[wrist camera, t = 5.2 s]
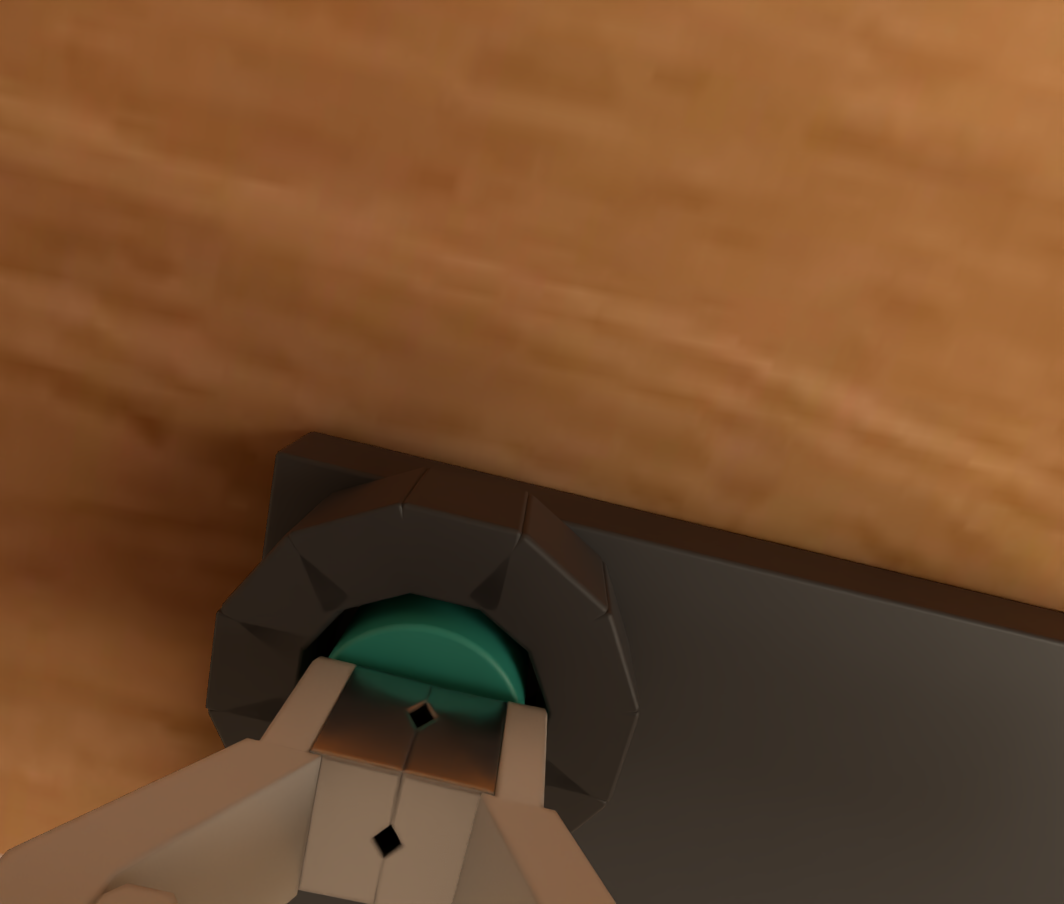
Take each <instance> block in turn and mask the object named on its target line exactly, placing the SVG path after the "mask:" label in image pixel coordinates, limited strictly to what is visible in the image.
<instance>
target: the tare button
mask: <svg viewBox="0 0 1064 904" xmlns="http://www.w3.org/2000/svg"><path fill="white" fill-rule="evenodd" d="M328 658H332V659H336V660H340V661H344V662H348V663H352V664H355V665H356V666H358V665H361V666H364V667H368V668H372V669H376V670H380V671H384V672H387V673H391V674H395V675H399V676H403V677H406V678H410V679H414V680H418V681H422V682H426V683H429V684H433V685H434V686H439V687H443V688H447V689H452V690H456V691H460V692H465V693H469V694H473V695H478V696H482V697H486V698H491V699H495V700H499V701H504V702H508V701H510V702H515V703H520V704H525V698H526V688H527V677H528V664H529V656H528V651H526V650H525V649H524V648H523V647H522V646H521V645H519V644H518V643H517V642H516V641H515V640H514V639H513V638H511V637H510V636H509V635H508V634H507V633H506V632H504V631H503V630H502V629H501V628H500V627H499V626H497V625H496V624H495V623H494V622H493V621H492V620H491V619H489V618H488V617H487V616H486V615H485V614H484V613H482V612H481V611H480V610H478V609H474V608H470V607H466V606H462V605H457V604H453V603H449V602H445V601H441V600H437V599H432V598H428V597H424V596H420V595H416V594H411V593H408V594H404V595H400V596H396V597H392V598H388V599H384V600H380V601H377V602H373V603H369V604H365V605H361V606H360V607H359V609H358V610H357V612H356V613H355V615H354V617H353V618H352V620H351V622H350V623H349V625H348V626H347V628H346V630H345V631H344V633H343V634H342V636H341V638H340V639H339V641H338V642H337V644H336V646H335V647H334V649H333V650H332V652H331V654H330V655H329V657H328Z"/></svg>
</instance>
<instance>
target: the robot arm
mask: <svg viewBox="0 0 1064 904" xmlns="http://www.w3.org/2000/svg"><path fill="white" fill-rule="evenodd" d="M546 737H547V712H546V710H545V709H544V708H539V707H534V706H530V705H525V704H520V703H515V702H510V701H508V702H504V701H499V700H495V699H491V698H486V697H482V696H478V695H473V694H469V693H465V692H460V691H456V690H452V689H447V688H443V687H439V686H434V685H433V684H429V683H426V682H422V681H418V680H414V679H410V678H406V677H403V676H399V675H395V674H391V673H387V672H384V671H380V670H376V669H372V668H368V667H364V666H361V665H358V666H356V665H355V664H352V663H348V662H344V661H340V660H336V659H332V658H327V657H323V656H320V657H318V658H317V659H315V660H313V661H312V663H311V664H310V666H309V667H308V669H307V670H306V672H305V673H304V675H303V676H302V678H301V679H300V681H299V682H298V684H297V685H296V687H295V688H294V690H293V691H292V693H291V694H290V696H289V697H288V699H287V700H286V702H285V703H284V705H283V706H282V708H281V709H280V711H279V712H278V714H277V715H276V717H275V718H274V720H273V721H272V723H271V724H270V726H269V727H268V729H267V730H266V732H265V733H264V735H263V736H262V738H261V739H260V740H259V741H258V740H254V739H249V738H246V739H244V740H242V741H240V742H237V743H235V744H233V745H231V746H229V747H227V748H225V749H222V750H220V751H218V752H216V753H214V754H212V755H210V756H208V757H205V758H203V759H201V760H199V761H197V762H195V763H193V764H190V765H188V766H186V767H184V768H182V769H180V770H178V771H175V772H173V773H171V774H169V775H167V776H165V777H163V778H161V779H158V780H156V781H154V782H152V783H150V784H148V785H146V786H143V787H141V788H139V789H137V790H135V791H133V792H131V793H129V794H126V795H124V796H122V797H120V798H118V799H116V800H114V801H111V802H109V803H107V804H105V805H103V806H101V807H99V808H97V809H94V810H92V811H90V812H88V813H86V814H84V815H82V816H79V817H77V818H75V819H73V820H71V821H69V822H67V823H64V824H62V825H60V826H58V827H56V828H54V829H52V830H50V831H47V832H45V833H43V834H41V835H39V836H37V837H35V838H32V839H30V840H28V841H26V842H24V843H22V844H20V845H18V846H15V847H13V848H11V849H9V850H8V851H7V852H6V853H5V854H4V855H3V856H2V857H1V858H0V904H287V903H288V902H289V901H291V900H292V899H293V898H294V897H295V896H296V895H297V892H298V890H302V891H307V892H312V893H317V894H322V895H327V896H332V897H337V898H342V899H347V900H352V901H357V902H362V903H367V904H616V902H615V901H614V899H613V898H612V896H611V895H610V893H609V892H608V890H607V889H606V887H605V886H604V884H603V882H602V881H601V879H600V878H599V876H598V875H597V873H596V872H595V870H594V869H593V867H592V866H591V864H590V863H589V861H588V859H587V858H586V856H585V855H584V853H583V852H582V850H581V849H580V847H579V846H578V844H577V843H576V841H575V840H574V838H573V836H572V835H571V833H570V832H569V830H568V829H567V827H566V826H565V824H564V823H563V821H562V820H561V818H560V817H559V815H558V813H557V812H556V811H555V810H551V809H547V808H544V787H545V762H546ZM374 901H375V902H374Z"/></svg>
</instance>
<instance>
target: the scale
mask: <svg viewBox="0 0 1064 904" xmlns="http://www.w3.org/2000/svg"><path fill="white" fill-rule="evenodd" d="M408 593H411V594H416V595H420V596H424V597H428V598H432V599H437V600H441V601H445V602H449V603H453V604H457V605H462V606H466V607H470V608H474V609H478V610H480V611H481V612H482V613H484V614H485V615H486V616H487V617H488V618H489V619H491V620H492V621H493V622H494V623H495V624H496V625H497V626H499V627H500V628H501V629H502V630H503V631H504V632H506V633H507V634H508V635H509V636H510V637H511V638H513V639H514V640H515V641H516V642H517V643H518V644H519V645H521V646H522V647H523V648H524V649H525V650H526V651H528V656H529V664H528V677H527V688H526V698H525V705H530V706H534V707H539V708H544V709H545V710H546V712H547V737H546V762H545V787H544V808H547V809H551V810H555V811H556V812H557V813H558V815H559V817H560V818H561V820H562V821H563V823H564V824H565V826H566V827H567V829H568V830H569V832H570V833H571V835H572V836H573V838H574V840H575V841H576V843H577V844H578V846H579V847H580V849H581V850H582V852H583V853H584V855H585V856H586V858H587V859H588V861H589V863H590V864H591V866H592V867H593V869H594V870H595V872H596V873H597V875H598V876H599V878H600V879H601V881H602V882H603V884H604V886H605V887H606V889H607V890H608V892H609V893H610V895H611V896H612V898H613V899H614V901H615V902H616V904H1064V613H1060V612H1056V611H1052V610H1048V609H1044V608H1040V607H1035V606H1031V605H1027V604H1023V603H1019V602H1015V601H1011V600H1007V599H1002V598H998V597H994V596H990V595H986V594H982V593H978V592H974V591H969V590H965V589H961V588H957V587H953V586H949V585H945V584H941V583H936V582H932V581H928V580H924V579H920V578H916V577H912V576H908V575H903V574H899V573H895V572H891V571H887V570H883V569H879V568H874V567H870V566H866V565H862V564H858V563H854V562H850V561H846V560H841V559H837V558H833V557H829V556H825V555H821V554H817V553H813V552H808V551H804V550H800V549H796V548H792V547H788V546H784V545H780V544H775V543H771V542H767V541H763V540H759V539H755V538H751V537H747V536H742V535H738V534H734V533H730V532H726V531H722V530H718V529H713V528H709V527H705V526H701V525H697V524H693V523H689V522H685V521H680V520H676V519H672V518H668V517H664V516H660V515H656V514H652V513H647V512H643V511H639V510H635V509H631V508H627V507H623V506H619V505H614V504H610V503H606V502H602V501H598V500H594V499H590V498H585V497H581V496H577V495H573V494H569V493H565V492H561V491H557V490H552V489H548V488H544V487H540V486H536V485H532V484H528V483H524V482H519V481H515V480H511V479H507V478H503V477H499V476H495V475H491V474H486V473H482V472H478V471H474V470H470V469H466V468H462V467H458V466H453V465H449V464H445V463H441V462H437V461H433V460H429V459H424V458H420V457H416V456H412V455H408V454H404V453H400V452H396V451H391V450H387V449H383V448H379V447H375V446H371V445H367V444H363V443H358V442H354V441H350V440H346V439H342V438H338V437H334V436H330V435H325V434H321V433H317V432H310V433H308V434H306V435H305V436H303V437H302V438H300V439H298V440H297V441H295V442H293V443H292V444H290V445H288V446H287V447H285V448H283V449H282V450H280V451H278V453H277V454H276V459H275V466H274V474H273V481H272V489H271V496H270V504H269V511H268V519H267V526H266V534H265V541H264V549H263V556H262V561H261V562H260V563H259V564H258V565H257V566H256V568H255V569H254V570H253V571H252V572H251V573H250V574H249V575H248V576H247V577H246V579H245V580H244V581H243V582H242V583H241V584H240V585H239V586H238V587H237V589H236V590H235V591H234V592H233V593H232V594H231V595H230V596H229V597H228V599H227V600H226V601H225V602H224V603H223V605H222V608H221V609H220V610H219V611H218V612H217V613H216V621H215V630H214V638H213V647H212V656H211V664H210V673H209V682H208V691H207V699H206V708H207V709H208V712H209V715H210V717H211V719H212V721H213V723H214V725H215V727H216V729H217V732H218V734H219V736H220V738H221V740H222V742H223V744H224V746H225V748H227V747H229V746H231V745H233V744H235V743H237V742H240V741H242V740H244V739H246V738H249V739H254V740H258V741H259V740H260V739H261V738H262V736H263V735H264V733H265V732H266V730H267V729H268V727H269V726H270V724H271V723H272V721H273V720H274V718H275V717H276V715H277V714H278V712H279V711H280V709H281V708H282V706H283V705H284V703H285V702H286V700H287V699H288V697H289V696H290V694H291V693H292V691H293V690H294V688H295V687H296V685H297V684H298V682H299V681H300V679H301V678H302V676H303V675H304V673H305V672H306V670H307V669H308V667H309V666H310V664H311V663H312V661H313V660H315V659H317V658H318V657H320V656H323V657H327V658H328V657H329V655H330V654H331V652H332V650H333V649H334V647H335V646H336V644H337V642H338V641H339V639H340V638H341V636H342V634H343V633H344V631H345V630H346V628H347V626H348V625H349V623H350V622H351V620H352V618H353V617H354V615H355V613H356V612H357V610H358V609H359V607H360V606H361V605H365V604H369V603H373V602H377V601H380V600H384V599H388V598H392V597H396V596H400V595H404V594H408ZM374 902H375V901H374ZM287 904H367V903H362V902H357V901H352V900H347V899H342V898H337V897H332V896H327V895H322V894H317V893H312V892H307V891H302V890H298V892H297V895H296V896H295V897H294V898H293V899H292V900H291V901H289V902H288V903H287Z"/></svg>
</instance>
